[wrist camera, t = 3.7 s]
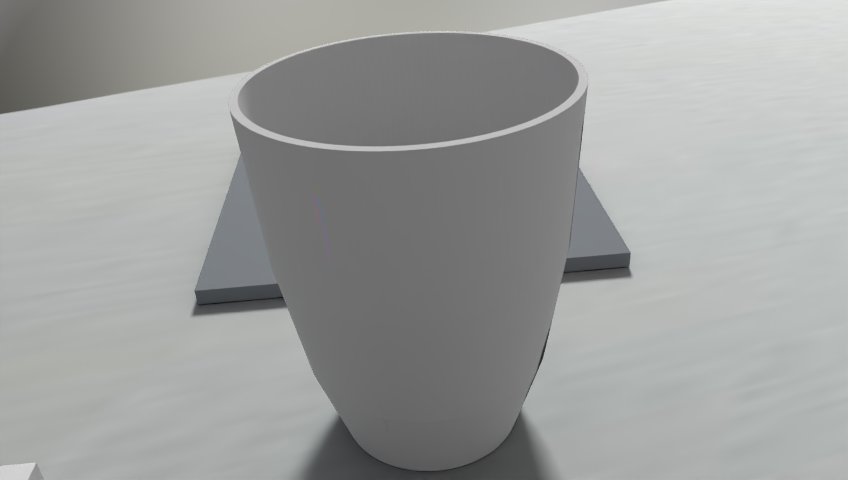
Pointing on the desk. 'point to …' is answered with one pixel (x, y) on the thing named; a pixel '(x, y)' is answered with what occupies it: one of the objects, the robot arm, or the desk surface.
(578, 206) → the mat
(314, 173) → the cup
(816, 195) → the desk surface
